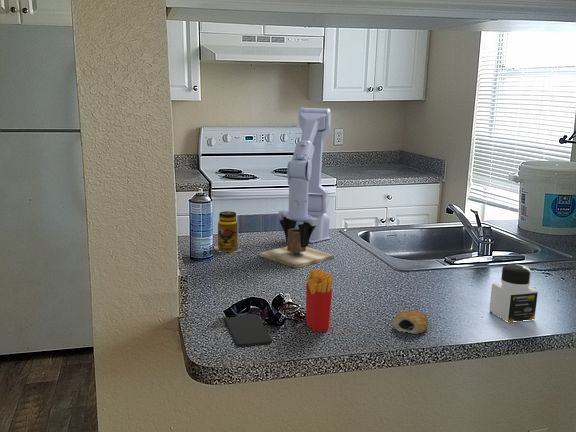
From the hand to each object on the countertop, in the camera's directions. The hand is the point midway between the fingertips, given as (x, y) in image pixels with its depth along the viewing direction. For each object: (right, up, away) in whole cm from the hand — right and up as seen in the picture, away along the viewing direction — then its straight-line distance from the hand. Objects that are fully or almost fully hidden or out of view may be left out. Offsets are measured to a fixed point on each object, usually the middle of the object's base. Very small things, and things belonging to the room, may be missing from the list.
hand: (296, 244), depth 172 cm
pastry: (+24, -16, -49) cm, 56 cm away
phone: (-11, -16, -53) cm, 56 cm away
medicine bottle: (+48, -15, -41) cm, 65 cm away
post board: (0, -4, +1) cm, 4 cm away
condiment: (-22, -2, +7) cm, 23 cm away
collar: (0, -2, 0) cm, 2 cm away
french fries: (+4, -15, -50) cm, 52 cm away
